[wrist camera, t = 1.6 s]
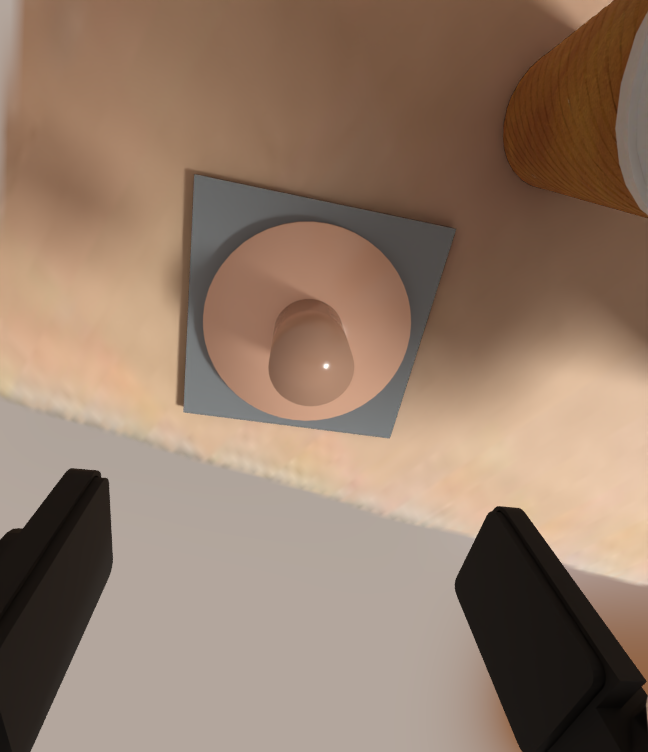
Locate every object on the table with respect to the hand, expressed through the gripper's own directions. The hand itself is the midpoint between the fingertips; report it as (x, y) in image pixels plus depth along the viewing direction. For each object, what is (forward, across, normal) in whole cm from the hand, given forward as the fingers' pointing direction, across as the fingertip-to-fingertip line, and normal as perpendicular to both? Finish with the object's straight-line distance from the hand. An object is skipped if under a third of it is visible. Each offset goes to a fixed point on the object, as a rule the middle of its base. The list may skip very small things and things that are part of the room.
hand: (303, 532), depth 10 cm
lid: (+15, -1, 0) cm, 15 cm away
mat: (+16, -1, 0) cm, 16 cm away
